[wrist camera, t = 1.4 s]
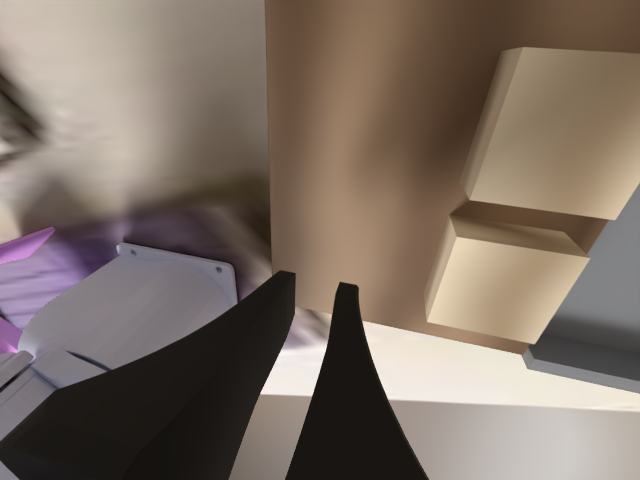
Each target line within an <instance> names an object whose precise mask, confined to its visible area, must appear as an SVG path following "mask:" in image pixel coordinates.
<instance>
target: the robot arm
mask: <svg viewBox="0 0 640 480" xmlns="http://www.w3.org/2000/svg"><path fill="white" fill-rule="evenodd" d="M116 248H117V252H118V254H119V256H118V257H116V258H115V259H113V260H112V261H110V262H109V263H107V264H106V265H104V266H103V267H101V268H100V269H98V270H97V271H95V272H94V273H92V274H91V275H89V276H88V277H86V278H85V279H83V280H82V281H80V282H79V283H77V284H76V285H74V286H73V287H71V288H70V289H68V290H66V291H65V292H63V293H62V294H60V295H59V296H57V297H56V298H54V299H53V300H51V301H50V302H49V303H47V304H46V305H45V306H44V307H42V308H41V309H40V310H39V311H38V312H37V313H36V314H35V315H34V317H33V318H32V319H31V320H30V322H29V323H28V325H27V326H26V328H25V329H24V331H23V333H22V335H21V337H20V340H19V343H18V350H17V353H15V352H11V353H1V354H0V480H228V479H229V476H230V473H231V470H232V468H233V465H234V461H235V459H236V456H237V453H238V450H239V448H240V445H241V442H242V439H243V436H244V434H245V431H246V428H247V426H248V423H249V420H250V417H251V415H252V412H253V409H254V407H255V404H256V402H257V400H258V397H259V395H260V393H261V390H262V388H263V386H264V384H265V382H266V380H267V378H268V376H269V374H270V372H271V370H272V368H273V365H274V363H275V361H276V359H277V357H278V355H279V353H280V351H281V349H282V347H283V344H284V342H285V340H286V338H287V335H288V332H289V330H290V327H291V324H292V321H293V318H294V315H295V289H296V273H293V272H288V271H283V270H280V271H278V272H277V273H276V274H274V275H273V276H272V277H271V278H269V279H268V280H267V281H266V282H265V283H263V284H262V285H261V286H260V287H258V288H257V289H256V290H255V291H253V292H252V293H251V294H249V295H248V296H247V297H245V298H244V299H243V300H241V301H240V302H239V303H238V302H237V293H236V283H235V274H234V268H233V266H232V265H230V264H229V263H225V262H220V261H215V260H210V259H205V258H200V257H195V256H190V255H185V254H179V253H174V252H169V251H164V250H159V249H154V248H149V247H144V246H139V245H134V244H129V243H120V244H118V245H117V247H116ZM219 267H220V268H221V269H222V270H221V269H220V268H219ZM285 480H429V479H428V477H427V475H426V473H425V472H424V470H423V468H422V466H421V465H420V463H419V461H418V459H417V457H416V455H415V453H414V452H413V450H412V448H411V446H410V444H409V442H408V440H407V438H406V437H405V435H404V433H403V431H402V428H401V426H400V424H399V422H398V420H397V418H396V416H395V414H394V412H393V409H392V407H391V405H390V403H389V401H388V399H387V396H386V394H385V391H384V389H383V387H382V384H381V382H380V379H379V376H378V374H377V371H376V368H375V365H374V363H373V360H372V357H371V353H370V350H369V347H368V343H367V340H366V336H365V332H364V327H363V323H362V318H361V313H360V305H359V287H358V286H357V285H355V284H350V283H344V282H339V285H338V288H337V291H336V294H335V300H334V306H333V313H332V320H331V326H330V333H329V339H328V344H327V349H326V352H325V356H324V359H323V363H322V366H321V369H320V373H319V376H318V380H317V383H316V386H315V389H314V393H313V396H312V400H311V402H310V406H309V409H308V412H307V415H306V418H305V422H304V424H303V428H302V431H301V434H300V437H299V440H298V443H297V446H296V449H295V452H294V455H293V458H292V461H291V464H290V467H289V470H288V473H287V476H286V478H285Z"/></svg>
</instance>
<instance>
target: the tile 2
mask: <svg viewBox="0 0 640 480" xmlns="http://www.w3.org/2000/svg"><path fill="white" fill-rule="evenodd" d="M460 183H461V185H462V187H463V189H464V191H465V192H466V194H467V196H468V198H469V200H473V201H480V202H487V203H495V204H502V205H509V206H516V207H523V208H531V209H538V210H545V211H552V212H559V213H567V214H574V215H581V216H588V217H595V218H603V219H610V220H616V218H617V217H618V215H619V214H620V212H621V211H622V209H623V208H624V206H625V205H626V203H627V201H628V200H629V198H630V197H631V195H632V194H633V192H634V191H635V189H636V188H637V186H638V185H639V183H640V54H636V53H619V52H601V51H584V50H566V49H548V48H531V47H521V48H515V49H510V50H505V51H501V54H500V57H499V61H498V64H497V67H496V70H495V73H494V76H493V79H492V82H491V86H490V89H489V92H488V95H487V98H486V101H485V104H484V107H483V111H482V114H481V117H480V120H479V123H478V126H477V129H476V132H475V136H474V139H473V142H472V145H471V148H470V151H469V154H468V157H467V161H466V164H465V167H464V170H463V173H462V176H461V179H460Z"/></svg>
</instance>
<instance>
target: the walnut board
mask: <svg viewBox="0 0 640 480" xmlns="http://www.w3.org/2000/svg"><path fill="white" fill-rule="evenodd" d="M265 20H266V59H267V97H268V136H269V174H270V212H271V251H272V276H273V275H274V274H276V273H277V272H278V271H280V270H283V271H288V272H293V273H296V289H295V306H297V307H301V308H306V309H311V310H315V311H320V312H325V313H329V314H332V313H333V306H334V300H335V294H336V291H337V288H338V285H339V282H344V283H350V284H355V285H357V286H358V287H359V305H360V313H361V318H362V321H367V322H371V323H376V324H381V325H385V326H390V327H395V328H399V329H404V330H409V331H413V332H418V333H423V334H427V335H432V336H437V337H441V338H446V339H451V340H455V341H460V342H465V343H469V344H474V345H479V346H483V347H488V348H493V349H497V350H502V351H507V352H511V353H516V354H521V355H523V354H524V353H525V351H526V350H527V348H528V346H529V345H530V343H526V342H521V341H516V340H511V339H507V338H502V337H497V336H492V335H487V334H483V333H478V332H473V331H468V330H463V329H458V328H454V327H449V326H444V325H439V324H434V323H430V322H427V317H426V308H425V300H424V292H425V289H426V285H427V282H428V279H429V276H430V273H431V270H432V267H433V264H434V260H435V257H436V254H437V251H438V248H439V245H440V242H441V239H442V235H443V232H444V229H445V226H446V223H447V220H448V217H449V215H454V216H460V217H467V218H474V219H481V220H487V221H494V222H501V223H508V224H514V225H521V226H528V227H535V228H541V229H548V230H555V231H562V232H564V233H565V234H566V235H567V236H569V237H570V238H571V239H572V240H573V241H574V242H575V243H576V244H577V245H578V246H579V247H580V248H581V249H582V250H583V251H584V252H585V253H586V254H588V252H589V250H590V249H591V247H592V246H593V244H594V243H595V241H596V239H597V238H598V236H599V235H600V233H601V232H602V230H603V228H604V227H605V225H606V224H607V222H608V221H609V219H603V218H595V217H588V216H581V215H574V214H567V213H559V212H552V211H545V210H538V209H531V208H523V207H516V206H509V205H502V204H495V203H487V202H480V201H473V200H469V198H468V196H467V194H466V192H465V191H464V189H463V187H462V185H461V183H460V179H461V176H462V173H463V170H464V167H465V164H466V161H467V157H468V154H469V151H470V148H471V145H472V142H473V139H474V136H475V132H476V129H477V126H478V123H479V120H480V117H481V114H482V111H483V107H484V104H485V101H486V98H487V95H488V92H489V89H490V86H491V82H492V79H493V76H494V73H495V70H496V67H497V64H498V61H499V57H500V54H501V51H505V50H510V49H515V48H521V47H531V48H548V49H566V50H584V51H601V52H619V53H636V54H640V0H265Z"/></svg>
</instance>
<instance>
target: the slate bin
mask: <svg viewBox="0 0 640 480" xmlns="http://www.w3.org/2000/svg"><path fill="white" fill-rule="evenodd" d="M587 255H588V256H589V257H590V260H589V262H588V263H587V265H586V266H585V268H584V269H583V271H582V272H581V274H580V275H579V277H578V279H577V280H576V282H575V283H574V285H573V286H572V288H571V289H570V291H569V292H568V294H567V295H566V297H565V299H564V300H563V302H562V303H561V305H560V306H559V308H558V309H557V311H556V312H555V314H554V315H553V317H552V319H551V320H550V322H549V323H548V325H547V326H546V328H545V329H544V331H543V332H542V334H541V336H540V337H539V339H538V340H537V342H536V343H535V344H531V343H530V345H529V346H528V348H527V350H526V351H525V353H524V354H523V355H522V357H523V360H524V362H525V364H526V367H527V369H531V370H535V371H540V372H544V373H549V374H553V375H558V376H562V377H567V378H571V379H576V380H581V381H585V382H590V383H594V384H599V385H603V386H608V387H612V388H617V389H621V390H626V391H630V392H635V393H639V394H640V183H639V185H638V186H637V188H636V189H635V191H634V192H633V194H632V195H631V197H630V198H629V200H628V201H627V203H626V205H625V206H624V208H623V209H622V211H621V212H620V214H619V215H618V217H617V218H616V220H610V219H609V221H608V222H607V224H606V225H605V227H604V228H603V230H602V232H601V233H600V235H599V236H598V238H597V239H596V241H595V243H594V244H593V246H592V247H591V249H590V250H589V252H588V254H587Z"/></svg>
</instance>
